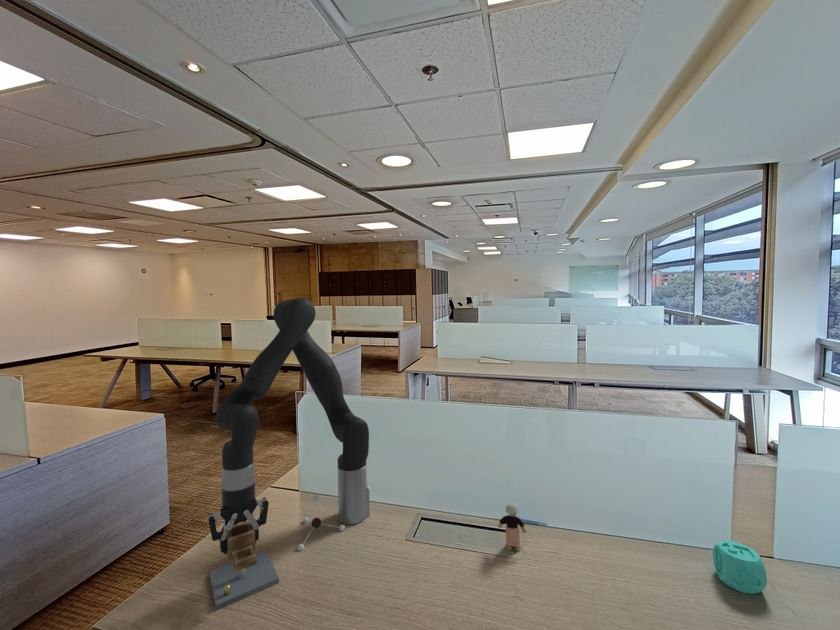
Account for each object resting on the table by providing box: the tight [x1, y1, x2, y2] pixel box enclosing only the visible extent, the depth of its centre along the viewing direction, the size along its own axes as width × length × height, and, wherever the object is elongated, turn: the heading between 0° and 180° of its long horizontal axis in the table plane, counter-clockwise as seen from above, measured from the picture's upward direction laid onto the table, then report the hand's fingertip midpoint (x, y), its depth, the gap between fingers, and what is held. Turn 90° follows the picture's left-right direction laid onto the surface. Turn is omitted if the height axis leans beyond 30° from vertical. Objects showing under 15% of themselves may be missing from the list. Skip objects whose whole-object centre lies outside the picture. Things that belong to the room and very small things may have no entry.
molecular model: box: [297, 493, 346, 552], centre depth 113 cm, size 13×15×13 cm
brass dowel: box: [224, 584, 230, 596], centre depth 88 cm, size 1×1×2 cm
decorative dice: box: [712, 540, 768, 595], centre depth 92 cm, size 8×8×8 cm
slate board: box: [208, 549, 280, 611], centre depth 94 cm, size 14×13×7 cm
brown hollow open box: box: [226, 520, 257, 572], centre depth 91 cm, size 6×11×5 cm, turn 35°
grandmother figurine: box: [497, 502, 527, 552], centre depth 105 cm, size 8×4×13 cm, turn 84°
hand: (239, 547), depth 93 cm, fingers closed on brown hollow open box, 6 cm apart
